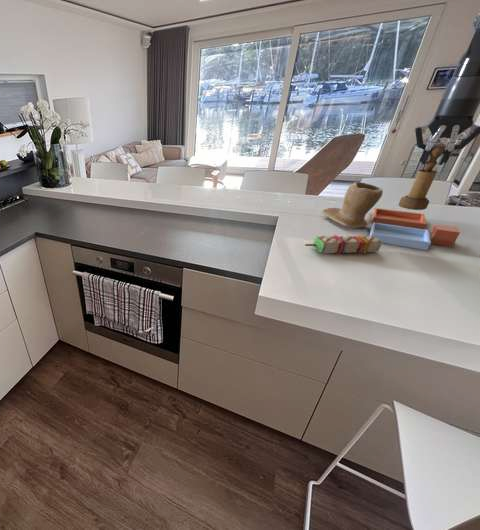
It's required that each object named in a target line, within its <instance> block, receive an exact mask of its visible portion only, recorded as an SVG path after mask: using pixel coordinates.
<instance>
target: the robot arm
mask: <svg viewBox="0 0 480 530" xmlns="http://www.w3.org/2000/svg"><path fill="white" fill-rule="evenodd" d="M472 31H473V32H474V33H473V36H472V38H471V40H470V43H469V45H468V47H467V50H466V51H465V52H464V53H463V54H462V55H461V57H460V58H459V60H458V63H457V65H456V67H455V69H454V72H453V74H452V77H451V79H450V80H449V82H448V84H447V86H446V87H445V90H444V92H443V93H442V98H441V99H440V102H439V104H438V106H437V109H436V111H435V114H434V115H433V118H432V119H431V120H430V121H429V122H428V123H427V124H424V125H421V126H419V125H418V126H416V127H414V132H415V133H414V134H415V141H416V146H417V148H418V149H420V150H422V153H421V155H420V158H419V162H420V163H421V165H426V162H428V159H429V157H430V152H431V151H430V150H431V149H432V148H433V147H434V145H435V144H436V143H437V141H438V140H439V139H443V138H445V139H447V144H446V147H445V152H444V153H443V154H442V155H441V156H440V157H439V161H438V162H437V165H438V166H443V164H447V162H448V161H449V159H450V156H451V155H452V153H453V152H454V151H456V150H462V149H464V148H465V147H466V146H468V145H469V144H470V143H471V142H472V141H473V140H474V139H475V138H477V136H478V135H480V125H477V124H474V117H475V115H476V113H477V111H478V109H479V107H480V11H479V13H477V15H476V16H475V17H474V19H473V23H472ZM427 129H429V131H430V133H431V136H430V138H429V139H428V142H427V143H424V138H423V134H425V133H426V132H427ZM468 129H469V130H468ZM467 130H468V132H467V133H468V134H467V135H466V136H465V137H464V138H463V139H461V141H460V142H458V143H456V142H457V139H458V136H459V135H461V134H462V133H464V132H465V131H467Z"/></svg>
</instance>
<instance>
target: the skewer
mask: <svg viewBox="0 0 480 530" xmlns="http://www.w3.org/2000/svg"><path fill="white" fill-rule="evenodd" d="M382 244H383V243H382V241H380V240H379V239H377V238H376V237H374V236H370V235H344V236H343V235H342V236H341V235H340V236H339V235H336V234H335V235H333V236H332V235H330V236H329V235H328V236H327V235H319V236H318V235H317V236H315V237H314V241H313V242H312V243H305V244H304V246H305V247H312V248H314V249H315V250H317V251H318V252H319V253H322V254H344V253H347V254H350V253H353V254H354V253H355V254H356V253H357V254H360V253H365V254H366V253H377V252H379V251H380V249H381V247H382Z"/></svg>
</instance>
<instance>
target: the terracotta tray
mask: <svg viewBox="0 0 480 530" xmlns="http://www.w3.org/2000/svg"><path fill="white" fill-rule="evenodd" d="M373 222H374V223H381V224H389V225H396V226H403V227H410V228H417V229H424V230H425V228H426V227H427V220H426V216H425V213H419V212H412V211H411V212H410V211H402V210H394V209H386V208H378V207H377V208H376V207H374V210H373V212H372V216H371V225H372V224H373Z"/></svg>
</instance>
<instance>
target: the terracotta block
mask: <svg viewBox="0 0 480 530" xmlns="http://www.w3.org/2000/svg"><path fill="white" fill-rule="evenodd" d="M460 233H461V232H460V229H459V227H458V226H453V225H445V224H439V223H435V224H434V226H433V228H432V230H431V232H430V233H429V236H430V241H431V244H430V245H437V246H443V247H448V248H452V247H453V246H454V244H455V242H456V240H457V239H458V237H459V235H460Z"/></svg>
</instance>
